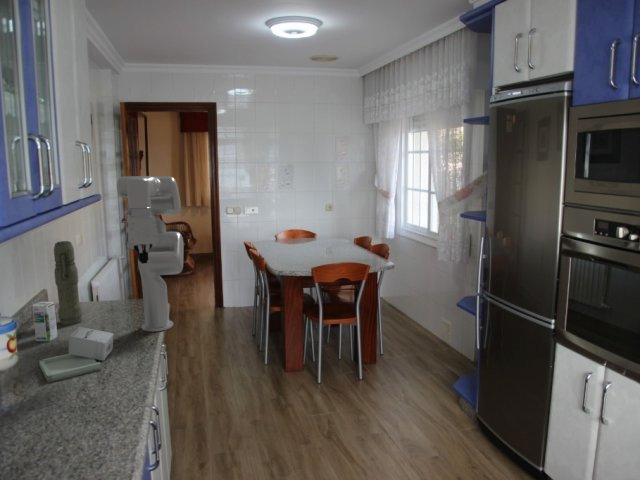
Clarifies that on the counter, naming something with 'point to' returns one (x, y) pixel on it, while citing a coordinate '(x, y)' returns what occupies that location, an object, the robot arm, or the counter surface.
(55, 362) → the tray
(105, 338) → the supplement box
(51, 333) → the syrup box
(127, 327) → the counter surface
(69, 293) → the stone figurine
